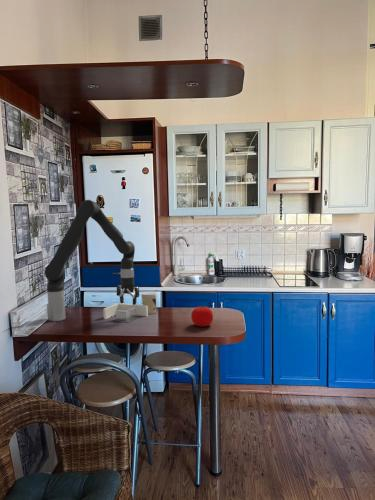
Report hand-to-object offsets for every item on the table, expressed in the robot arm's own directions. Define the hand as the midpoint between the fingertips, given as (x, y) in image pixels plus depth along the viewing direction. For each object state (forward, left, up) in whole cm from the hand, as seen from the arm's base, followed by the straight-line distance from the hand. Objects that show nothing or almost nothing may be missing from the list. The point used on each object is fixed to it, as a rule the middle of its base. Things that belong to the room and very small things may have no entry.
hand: (128, 303), depth 216 cm
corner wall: (-3, +2, -9) cm, 10 cm away
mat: (-1, -1, -9) cm, 9 cm away
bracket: (-2, +1, -9) cm, 9 cm away
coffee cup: (+4, +16, -9) cm, 19 cm away
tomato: (+45, +3, -9) cm, 46 cm away
